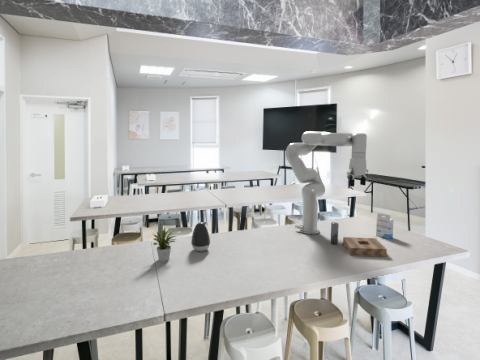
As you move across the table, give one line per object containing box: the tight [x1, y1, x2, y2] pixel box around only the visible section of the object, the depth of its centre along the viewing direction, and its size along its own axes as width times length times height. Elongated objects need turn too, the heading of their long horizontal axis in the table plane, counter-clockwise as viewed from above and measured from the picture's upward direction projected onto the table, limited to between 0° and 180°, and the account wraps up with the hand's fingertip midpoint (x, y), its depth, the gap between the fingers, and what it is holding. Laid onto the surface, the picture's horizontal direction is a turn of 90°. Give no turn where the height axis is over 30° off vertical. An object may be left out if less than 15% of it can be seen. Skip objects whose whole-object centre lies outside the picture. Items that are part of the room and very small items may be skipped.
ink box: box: [375, 212, 394, 240], centre depth 192 cm, size 8×5×15 cm, turn 39°
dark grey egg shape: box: [190, 221, 211, 252], centre depth 169 cm, size 10×10×15 cm
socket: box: [342, 236, 388, 258], centre depth 169 cm, size 18×18×4 cm
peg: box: [330, 221, 339, 245], centre depth 179 cm, size 4×4×12 cm
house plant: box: [153, 227, 177, 262], centre depth 154 cm, size 14×14×16 cm
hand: (357, 185), depth 177 cm, fingers open, 9 cm apart
